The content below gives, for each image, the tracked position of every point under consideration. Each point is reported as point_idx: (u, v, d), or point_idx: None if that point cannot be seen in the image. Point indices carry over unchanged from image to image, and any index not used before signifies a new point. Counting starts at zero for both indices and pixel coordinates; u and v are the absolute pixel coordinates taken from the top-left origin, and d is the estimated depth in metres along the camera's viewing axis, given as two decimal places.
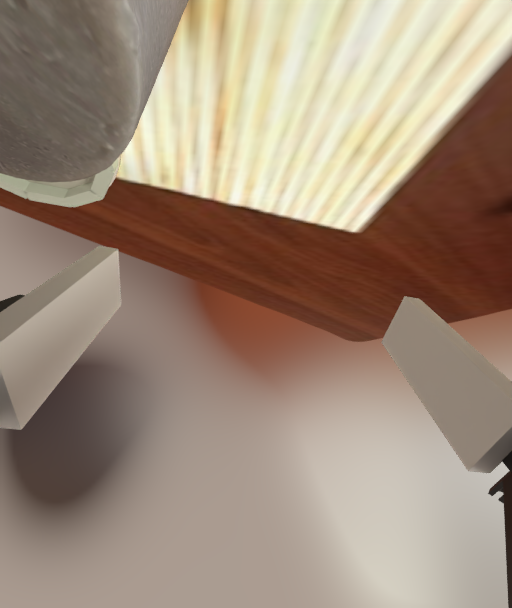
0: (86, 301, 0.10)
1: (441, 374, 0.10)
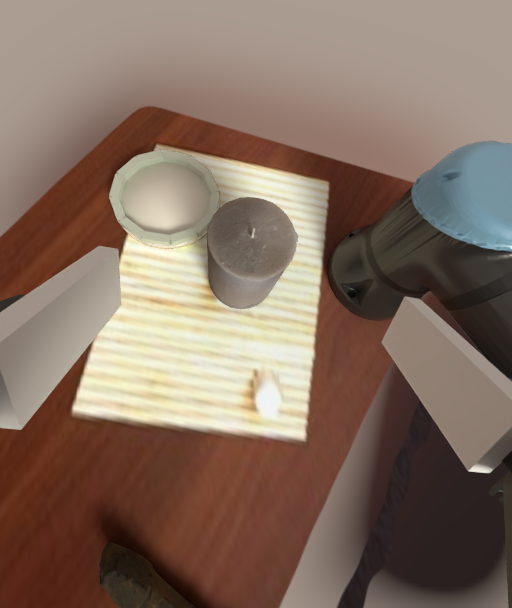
0: (86, 301, 0.10)
1: (441, 374, 0.10)
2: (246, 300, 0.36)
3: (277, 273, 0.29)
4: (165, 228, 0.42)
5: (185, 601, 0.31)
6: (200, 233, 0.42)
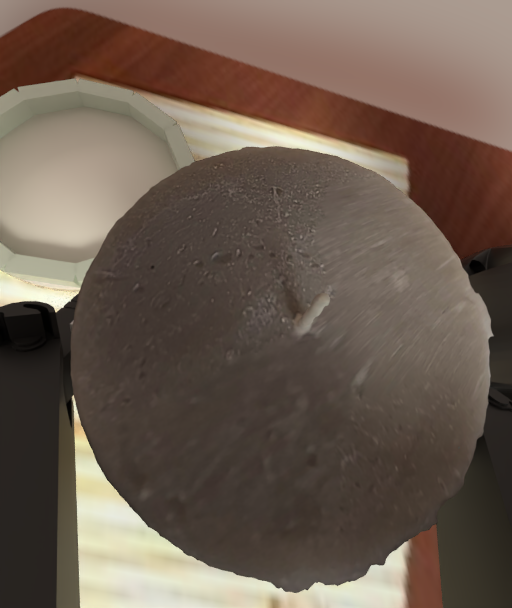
0: None
1: None
2: None
3: (431, 519, 0.06)
4: (73, 246, 0.19)
5: None
6: None
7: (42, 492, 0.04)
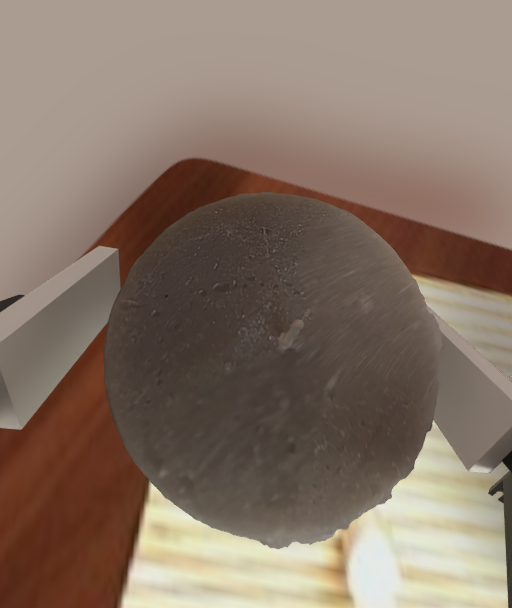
0: (86, 301, 0.10)
1: (441, 374, 0.10)
2: None
3: (386, 495, 0.07)
4: None
5: None
6: None
7: None
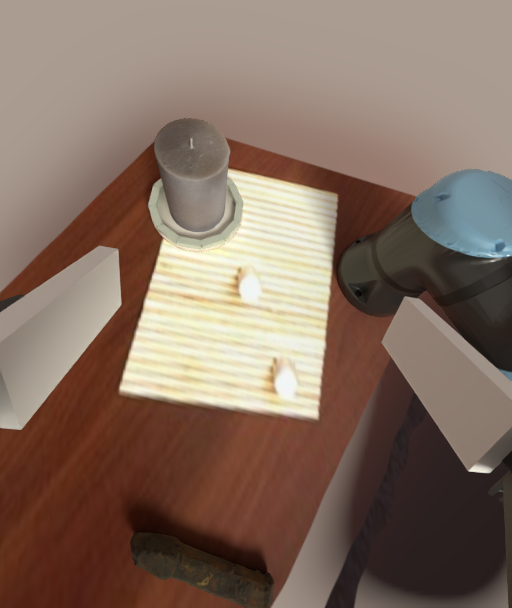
0: (86, 301, 0.10)
1: (441, 374, 0.10)
2: (195, 216, 0.43)
3: (211, 176, 0.36)
4: (196, 234, 0.48)
5: (213, 556, 0.36)
6: (227, 238, 0.48)
7: None
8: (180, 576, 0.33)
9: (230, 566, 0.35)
